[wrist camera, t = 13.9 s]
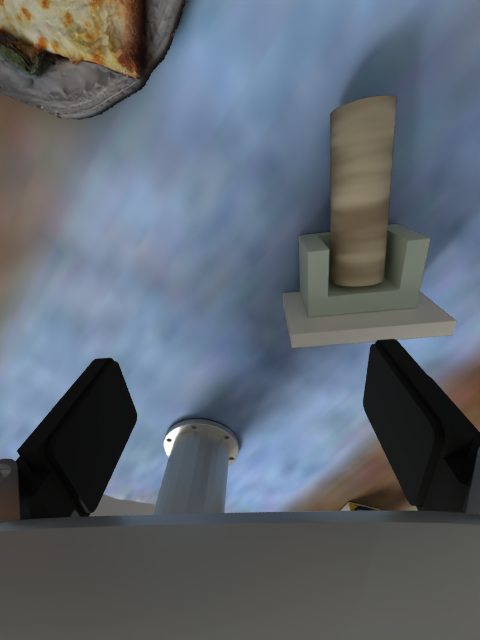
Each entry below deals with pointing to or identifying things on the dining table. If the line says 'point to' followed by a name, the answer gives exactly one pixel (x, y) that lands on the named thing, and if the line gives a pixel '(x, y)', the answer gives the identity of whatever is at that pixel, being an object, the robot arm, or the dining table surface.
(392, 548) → the robot arm
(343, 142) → the dowel
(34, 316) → the dining table surface
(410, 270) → the block
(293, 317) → the base
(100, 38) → the food plate
